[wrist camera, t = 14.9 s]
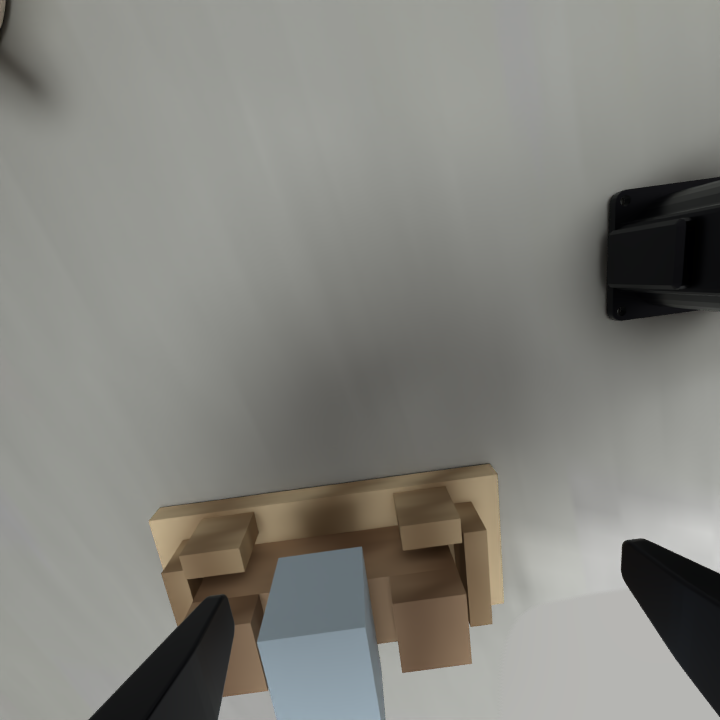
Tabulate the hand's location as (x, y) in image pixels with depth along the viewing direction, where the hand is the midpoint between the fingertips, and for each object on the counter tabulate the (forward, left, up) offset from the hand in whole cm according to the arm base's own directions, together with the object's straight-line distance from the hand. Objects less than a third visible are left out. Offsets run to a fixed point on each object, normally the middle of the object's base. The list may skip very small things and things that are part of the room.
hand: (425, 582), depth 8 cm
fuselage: (+4, +9, -11) cm, 15 cm away
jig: (+4, +9, -12) cm, 16 cm away
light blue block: (+4, +9, -8) cm, 13 cm away
